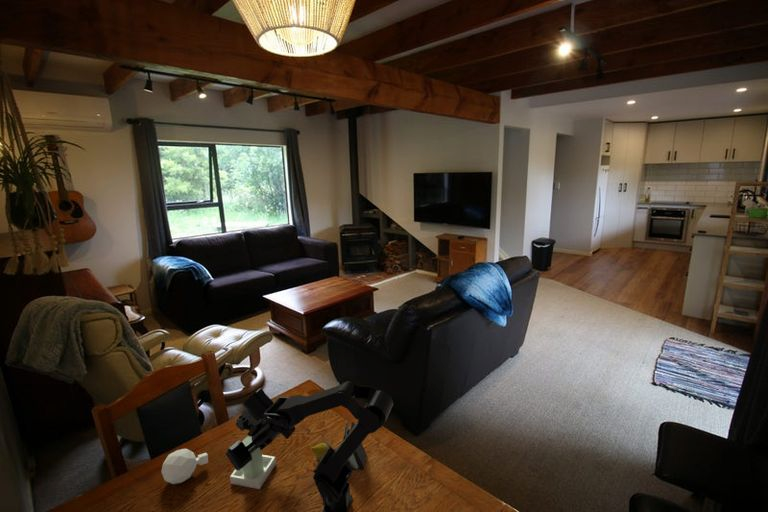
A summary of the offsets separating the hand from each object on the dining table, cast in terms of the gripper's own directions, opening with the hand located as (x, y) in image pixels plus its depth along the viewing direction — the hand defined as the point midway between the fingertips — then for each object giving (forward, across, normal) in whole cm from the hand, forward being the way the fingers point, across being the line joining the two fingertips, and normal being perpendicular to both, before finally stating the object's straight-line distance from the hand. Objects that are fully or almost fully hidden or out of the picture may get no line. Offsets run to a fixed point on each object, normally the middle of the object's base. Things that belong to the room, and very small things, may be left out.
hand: (247, 447), depth 108 cm
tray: (+5, 0, +7) cm, 9 cm away
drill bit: (-5, -14, +18) cm, 23 cm away
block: (+5, 0, +7) cm, 8 cm away
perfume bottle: (+17, +10, -5) cm, 20 cm away
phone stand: (-11, -17, +23) cm, 31 cm away
